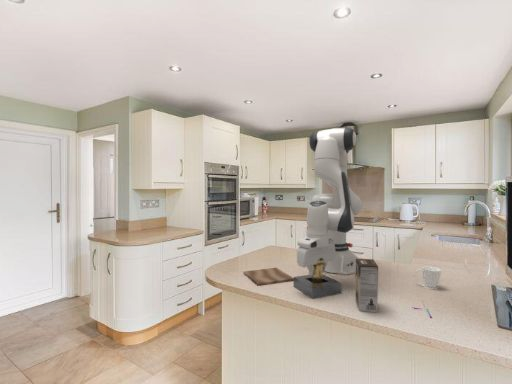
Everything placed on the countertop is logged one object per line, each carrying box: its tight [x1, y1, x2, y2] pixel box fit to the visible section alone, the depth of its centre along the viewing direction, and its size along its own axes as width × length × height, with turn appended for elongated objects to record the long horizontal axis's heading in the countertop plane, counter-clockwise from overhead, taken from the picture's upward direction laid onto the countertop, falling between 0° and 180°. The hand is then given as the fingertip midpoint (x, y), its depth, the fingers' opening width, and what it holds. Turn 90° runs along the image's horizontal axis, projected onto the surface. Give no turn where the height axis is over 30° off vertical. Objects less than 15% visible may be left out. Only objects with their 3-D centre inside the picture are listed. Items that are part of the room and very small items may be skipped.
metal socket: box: [293, 274, 343, 299], centre depth 116 cm, size 14×14×4 cm
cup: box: [413, 266, 442, 290], centre depth 120 cm, size 7×10×8 cm
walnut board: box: [243, 267, 294, 287], centre depth 131 cm, size 18×18×1 cm
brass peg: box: [312, 258, 324, 284], centre depth 116 cm, size 6×6×13 cm
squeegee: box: [411, 307, 433, 319], centre depth 99 cm, size 15×1×5 cm
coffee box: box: [354, 258, 379, 313], centre depth 100 cm, size 9×6×16 cm
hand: (317, 273), depth 116 cm, fingers closed on brass peg, 5 cm apart
